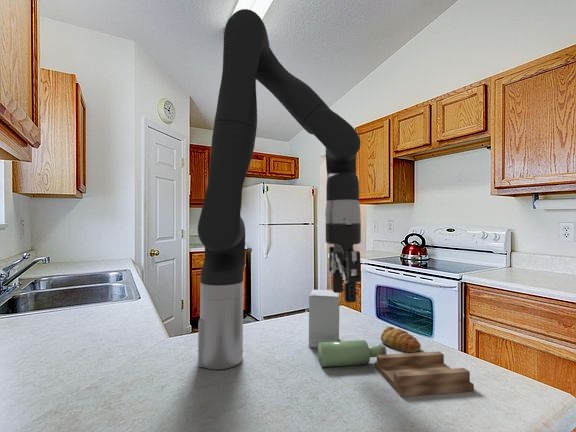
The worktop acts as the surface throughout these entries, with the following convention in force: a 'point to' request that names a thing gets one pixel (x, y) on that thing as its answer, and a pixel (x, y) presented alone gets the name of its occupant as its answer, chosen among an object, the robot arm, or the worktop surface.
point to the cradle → (422, 374)
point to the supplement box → (323, 317)
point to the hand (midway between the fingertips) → (343, 296)
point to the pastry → (400, 340)
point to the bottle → (347, 353)
